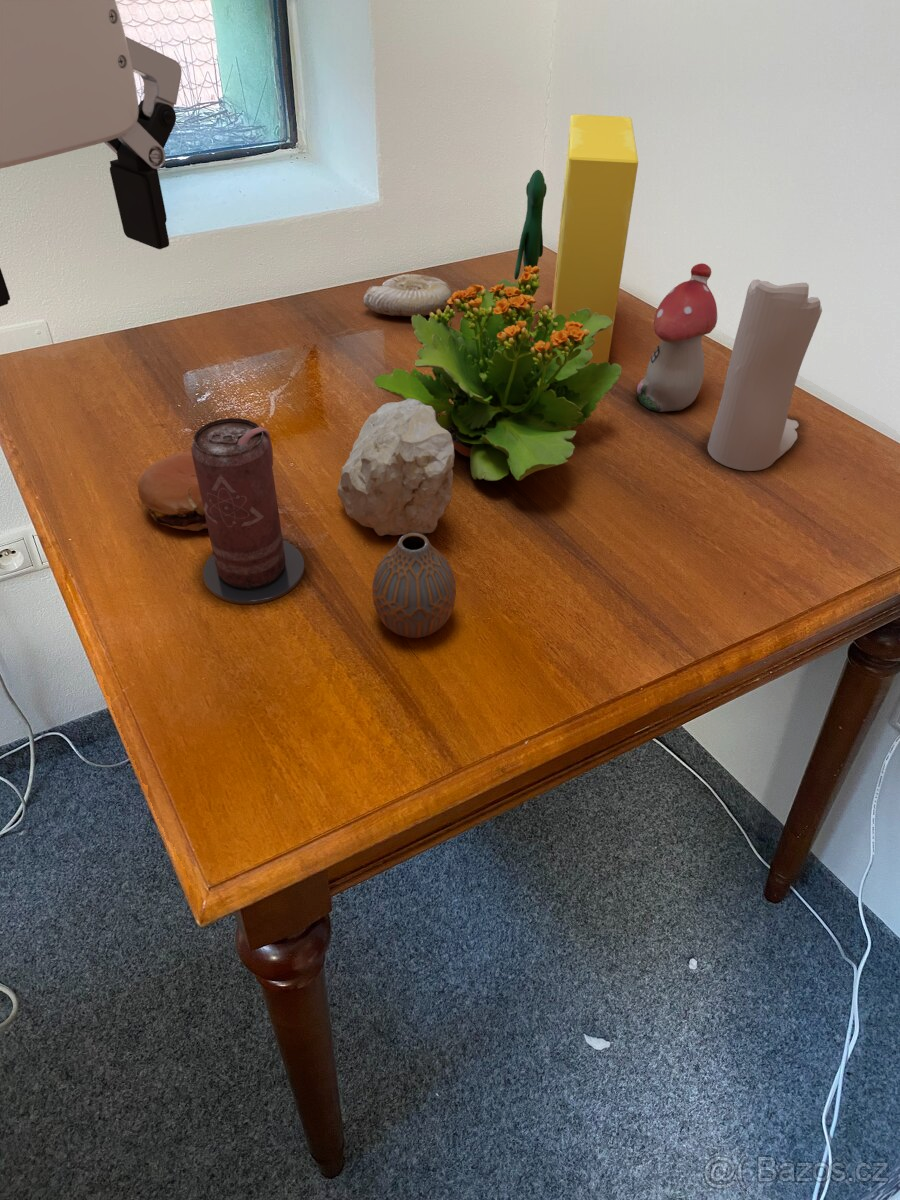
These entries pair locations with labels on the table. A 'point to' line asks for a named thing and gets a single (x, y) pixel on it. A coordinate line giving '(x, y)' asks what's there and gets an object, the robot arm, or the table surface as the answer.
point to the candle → (763, 376)
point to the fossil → (408, 296)
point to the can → (239, 501)
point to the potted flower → (507, 377)
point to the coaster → (260, 594)
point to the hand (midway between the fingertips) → (72, 268)
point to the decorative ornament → (679, 344)
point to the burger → (173, 492)
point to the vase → (414, 588)
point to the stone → (399, 470)
